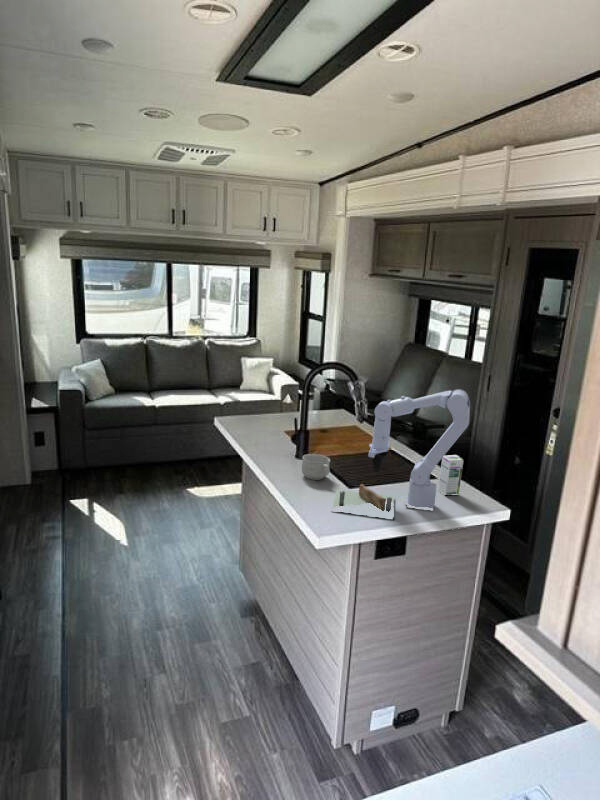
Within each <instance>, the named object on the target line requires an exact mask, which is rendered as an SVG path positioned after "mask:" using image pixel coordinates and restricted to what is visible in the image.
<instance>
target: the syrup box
mask: <svg viewBox="0 0 600 800" xmlns="http://www.w3.org/2000/svg"><path fill="white" fill-rule="evenodd" d="M463 465H464V459H463V458H462V457H460V455H457V454H452V455H450V454H449V455H446V454H445V455H444V456H443V457H442V459H441V465H440V471H439V480H438V487H437V490H440V491H441V492H442V493H444V494H445V495H452V494H459V495H460V489H461V482H462V481H461V479H462V474H463V473H462V472H463V468H464V467H463ZM442 493H441V494H442Z"/></svg>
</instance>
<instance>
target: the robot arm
mask: <svg viewBox="0 0 600 800" xmlns="http://www.w3.org/2000/svg"><path fill="white" fill-rule="evenodd" d="M432 406H439V407H441V408H443V409H446V408H447V409H448V411H449V412H450V414H451V417H452V423H451V424H450V425H449V426H448V428H447V429H446V430H445V432H444V433H443V434H442V435H441V436H440V438H439V439H437V441H436V443H435V444H434V445H433V447H432V448H431V449H430V450H429V451H428V453H427V454H426V455H424V457H423V458H422V459H420V460H418V461H417V462H415V464H414V467H413V469H412V470H411V472H410V477H409V483H408V490H407V491H408V493H407V497H406V498H405V501H406V500H407V503H408V504H409V505H411V506H415V507H429V508H435V504H436V503H435V502H436V494H437V484H436V483H434V482H432V481H431V479H430V477H431V474H432V473H433V471H434V470H435V468H436V467H437V465H439V463H440V461H442V457H443V456H444V455H445V456H446V454H447V452H448V451H449V450H450V449H451V447H453V445H454V444H455V443H456V441H458V439H459V437H461V435H462V434H463V433H464V432H465V431H466V430H467V428H468V427H469V424H470V414H471V413H470V412H471V411H470V410H471V401H470V398H469V394H468V393H467V391H465V390H463V389H460V388H459V389H454V390H445V391H441V392H440V391H439V392H436V393H433V394H429V395H425V396H421V397H418V398H412V397H409V396H405V395H401V397H400V398H397V399H393V400H391V399H387V401H386V400H383V401H381V402H379V403H378V405H376V407H375V408H374V411H373V412H374V413H373V414H374V416H375V418H374V419H375V420H374V423H373V424H374V425H373V434H372V441H371V443H369V445H368V447H369V448H370V449H369V451H368V456H367V457H368V458H371V462H372V468H373V472H376V473H380V472H381V470H382V467H383V465H384V462H385V460H386V459H387V457H388V456H389V449H390V447H391V442H390V433H391V425H392V424H391V422H392V417H394V418H396V417H400V416H404V415H409V414H412V413H413V412H414V411H415V409H421V408H427V407H432Z"/></svg>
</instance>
